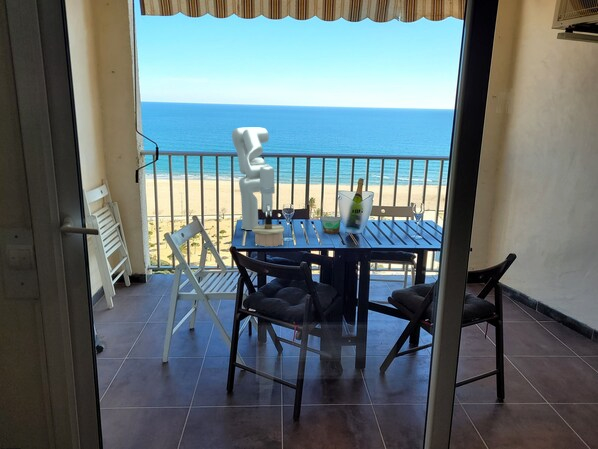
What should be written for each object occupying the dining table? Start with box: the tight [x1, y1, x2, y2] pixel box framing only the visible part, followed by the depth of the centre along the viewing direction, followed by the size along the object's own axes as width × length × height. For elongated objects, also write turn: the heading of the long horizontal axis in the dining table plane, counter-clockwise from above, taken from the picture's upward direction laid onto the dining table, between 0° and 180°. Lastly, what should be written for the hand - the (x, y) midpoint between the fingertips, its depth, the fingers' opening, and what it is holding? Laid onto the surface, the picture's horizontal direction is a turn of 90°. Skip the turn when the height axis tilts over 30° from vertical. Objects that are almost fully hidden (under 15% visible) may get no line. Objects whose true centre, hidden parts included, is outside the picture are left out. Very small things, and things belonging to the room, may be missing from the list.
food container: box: [320, 215, 343, 235], centre depth 254 cm, size 12×6×10 cm, turn 82°
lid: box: [251, 218, 285, 235], centre depth 235 cm, size 17×17×6 cm
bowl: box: [254, 232, 283, 247], centre depth 237 cm, size 14×14×7 cm
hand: (268, 221), depth 235 cm, fingers open, 9 cm apart
